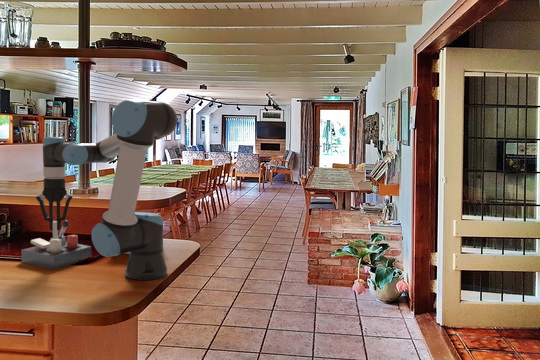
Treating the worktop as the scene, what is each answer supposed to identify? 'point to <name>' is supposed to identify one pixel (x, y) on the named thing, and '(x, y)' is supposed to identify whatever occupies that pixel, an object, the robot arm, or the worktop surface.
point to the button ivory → (55, 246)
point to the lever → (63, 229)
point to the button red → (72, 241)
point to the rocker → (40, 243)
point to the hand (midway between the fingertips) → (55, 238)
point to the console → (55, 255)
